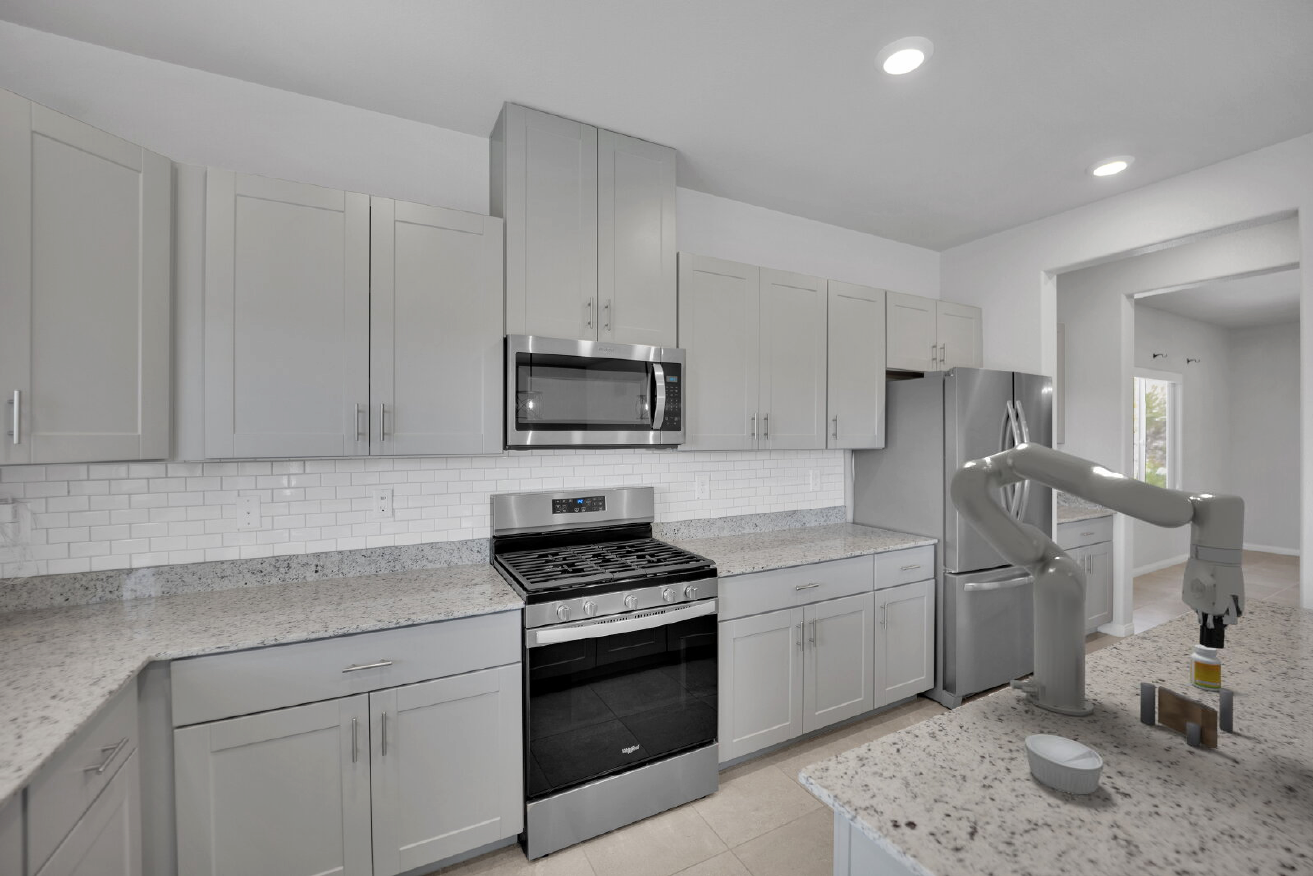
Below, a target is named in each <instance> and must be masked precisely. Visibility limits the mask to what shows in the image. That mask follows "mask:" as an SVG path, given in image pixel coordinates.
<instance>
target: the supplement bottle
mask: <svg viewBox="0 0 1313 876" xmlns="http://www.w3.org/2000/svg"><path fill="white" fill-rule="evenodd" d="M1193 650H1194V652H1193V653H1192V654H1191V655H1190V671H1189V672H1190V684H1191V685H1192V686H1193V687H1196V688H1198V687H1199V688H1198V689H1200V690H1205V691H1209V692H1219V690H1220V689H1222V661H1221V659H1220V658H1219V657H1217V656H1218V650H1217V648H1207V647H1205V646H1203V645H1201V644H1200V643H1197V644H1194V649H1193Z"/></svg>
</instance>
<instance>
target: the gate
mask: <svg viewBox="0 0 1313 876" xmlns="http://www.w3.org/2000/svg"><path fill="white" fill-rule="evenodd" d="M1218 711H1219V710H1218ZM1218 711H1217V710H1216V709H1215V708H1214V707H1211V706H1210V705H1207V704H1205V703H1202V702H1199V701H1198V700H1195V699H1193V698H1190V697H1188V696H1186V695H1183V694H1181V693H1180V692H1177V691H1175V690H1172V689H1169V688H1166V687H1164V686H1162V685H1161V686H1159V687H1158V688H1157V723H1159V724H1161V725H1163V726H1164V727H1167V728H1168V729H1170V730H1172V731H1174V732H1177V733H1179V734H1181V735H1183V736H1185V737H1187V722H1192V723H1196V724H1198V725H1200V726H1201V745H1203V746H1204V747H1206V748H1209V749H1217V748H1218V716H1219V715H1218V714H1219V713H1218Z"/></svg>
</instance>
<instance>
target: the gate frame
mask: <svg viewBox="0 0 1313 876" xmlns="http://www.w3.org/2000/svg"><path fill="white" fill-rule="evenodd" d="M1156 689H1157V688H1156V685H1154V684H1152V683H1149V682H1145V681H1144V682H1140V699H1139V700H1140V701H1139V703H1140V710H1139V711H1140V713H1139V714H1140V715H1139V716H1140V719H1139V720H1140V723H1142V724H1145V725H1147V726H1156ZM1187 744H1188V745H1187ZM1186 745H1187V746H1190V747H1192V746H1193V747H1192V748H1195V747H1197V748H1196V749H1200V748H1201V745H1202V744H1201V726H1200V725H1198V724H1196V723H1192V722H1187V736H1186Z"/></svg>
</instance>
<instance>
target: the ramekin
mask: <svg viewBox="0 0 1313 876" xmlns="http://www.w3.org/2000/svg"><path fill="white" fill-rule="evenodd" d="M1024 748H1025V750H1026V754H1027V755H1026V756H1027V760H1028V767H1029V770H1030V772H1031V773H1032V774H1033V776H1034V777H1035V779H1037V780H1038V781H1040V783H1041V784H1043V783H1044V784H1043V785H1045V784H1046V785H1045V786H1047V785H1048V786H1047V787H1049V788H1051V787H1053V788H1054V789H1053V788H1052V789H1053V790H1056V789H1057V790H1056V791H1058V790H1060V791H1059V792H1061V791H1063V792H1062V793H1065V792H1069V793H1073V794H1072V795H1075V794H1087V795H1090V793H1091V794H1092V793H1094V792H1095V791H1096V790H1097V789H1098V785H1099V783H1100V777H1101V772H1102V771H1103V770H1104V760H1103V758H1102V757H1101V756H1100V754H1099V753H1098V752H1096V751H1094V750H1093V749H1092V748H1091V747H1089V746H1087V745H1085V744H1082V743H1080V742H1078V741H1076V740H1072V739H1071V738H1070V739H1069V738H1066V737H1064V736H1059V735H1054V734H1046V733H1045V734H1044V733H1042V734H1041V733H1038V734H1031V735H1029V736H1027V737H1025V740H1024ZM1069 793H1068V794H1069Z"/></svg>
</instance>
